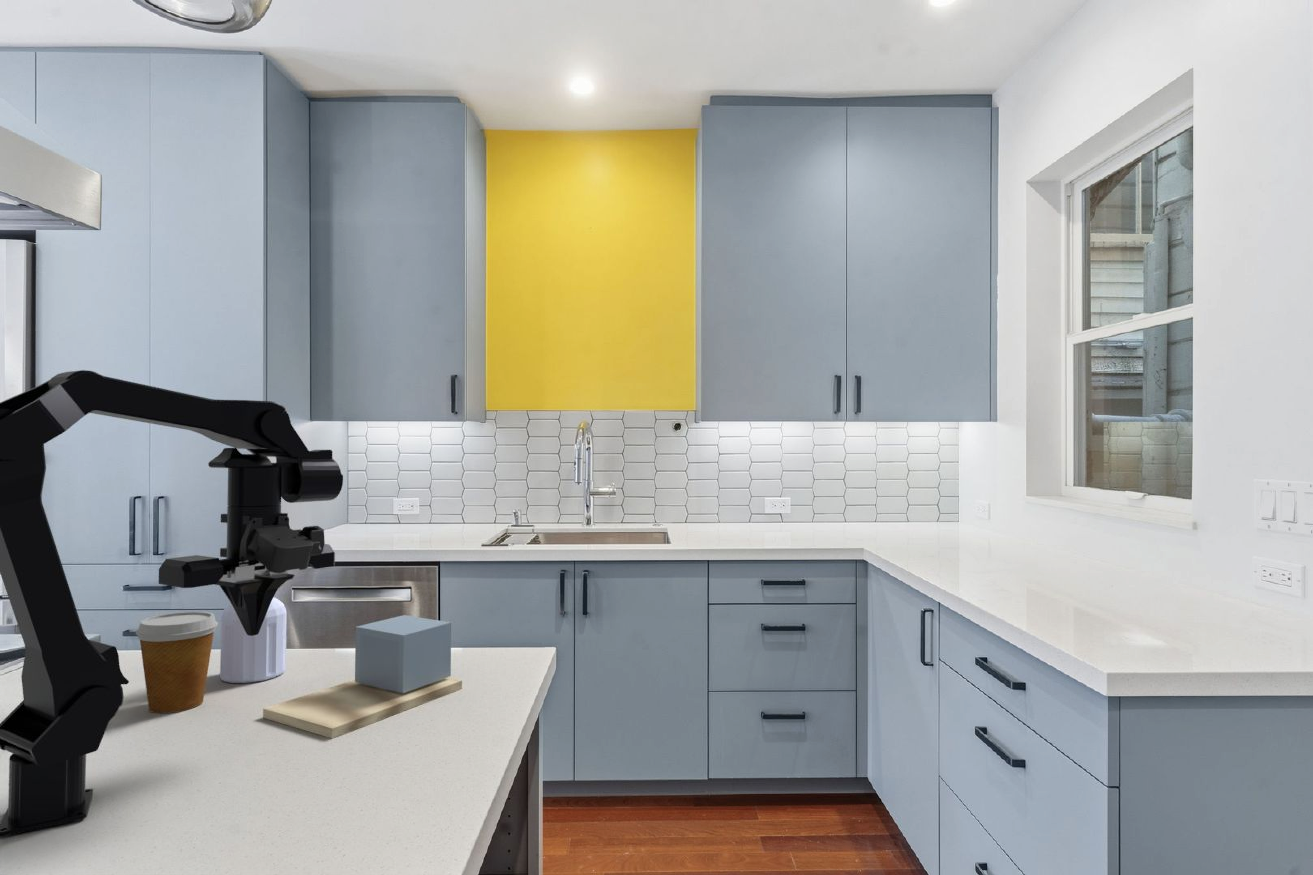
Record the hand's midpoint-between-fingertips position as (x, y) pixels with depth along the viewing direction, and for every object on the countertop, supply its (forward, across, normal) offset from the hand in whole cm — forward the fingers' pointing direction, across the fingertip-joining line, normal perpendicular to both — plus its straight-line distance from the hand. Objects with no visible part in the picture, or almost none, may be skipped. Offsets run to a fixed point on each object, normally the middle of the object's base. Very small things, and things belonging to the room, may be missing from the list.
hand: (252, 634), depth 88 cm
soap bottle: (+13, +16, +26) cm, 33 cm away
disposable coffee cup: (+13, +3, +22) cm, 26 cm away
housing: (+11, +23, 0) cm, 26 cm away
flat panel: (+13, +17, 0) cm, 21 cm away
